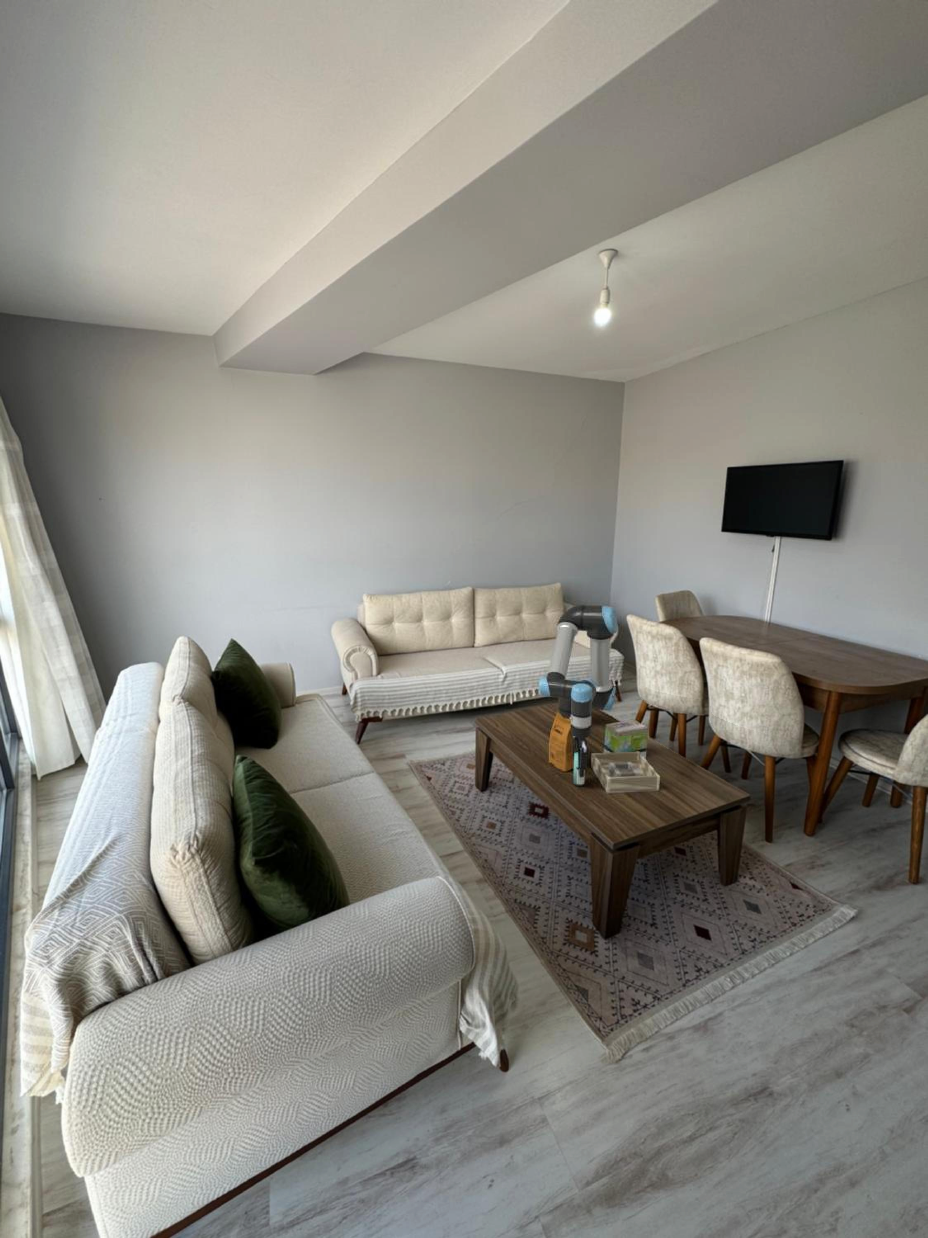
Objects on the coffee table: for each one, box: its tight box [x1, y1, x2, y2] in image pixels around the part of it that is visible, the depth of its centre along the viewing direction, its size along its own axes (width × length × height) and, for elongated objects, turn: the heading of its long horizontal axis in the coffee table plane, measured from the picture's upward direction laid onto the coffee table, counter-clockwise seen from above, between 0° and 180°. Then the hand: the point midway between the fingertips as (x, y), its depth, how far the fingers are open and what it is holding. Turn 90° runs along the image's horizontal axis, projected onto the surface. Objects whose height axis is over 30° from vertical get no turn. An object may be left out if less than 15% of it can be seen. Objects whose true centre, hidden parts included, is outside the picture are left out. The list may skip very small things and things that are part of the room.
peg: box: [573, 752, 584, 786], centre depth 196 cm, size 4×4×12 cm
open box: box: [590, 751, 661, 794], centre depth 200 cm, size 20×20×6 cm
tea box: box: [603, 718, 649, 759], centre depth 216 cm, size 15×10×15 cm, turn 112°
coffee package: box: [548, 711, 574, 772], centre depth 210 cm, size 10×12×22 cm
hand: (578, 780), depth 197 cm, fingers closed on peg, 4 cm apart
